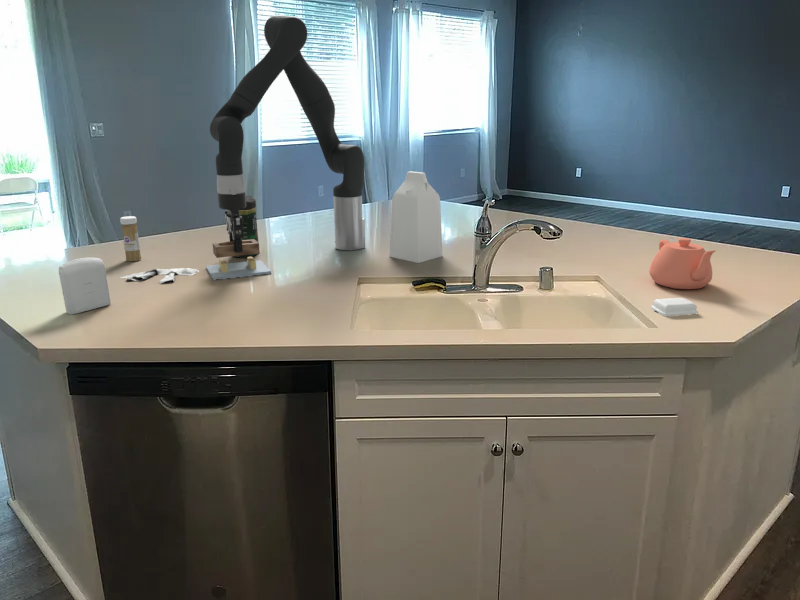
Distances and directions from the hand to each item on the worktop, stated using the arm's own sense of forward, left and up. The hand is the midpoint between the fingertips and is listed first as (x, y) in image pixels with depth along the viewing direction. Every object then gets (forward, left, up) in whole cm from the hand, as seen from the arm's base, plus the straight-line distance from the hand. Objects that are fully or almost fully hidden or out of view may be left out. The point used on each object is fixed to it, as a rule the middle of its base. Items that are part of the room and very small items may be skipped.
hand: (236, 249), depth 183 cm
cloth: (+22, -3, -7) cm, 23 cm away
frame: (0, 0, -1) cm, 1 cm away
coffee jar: (-6, -19, -7) cm, 21 cm away
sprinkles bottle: (+27, -27, -7) cm, 39 cm away
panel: (0, 0, -6) cm, 6 cm away
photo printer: (+39, +19, -7) cm, 44 cm away
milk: (-54, +6, -7) cm, 55 cm away
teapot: (-104, +64, -7) cm, 122 cm away
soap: (-86, +79, -7) cm, 117 cm away
